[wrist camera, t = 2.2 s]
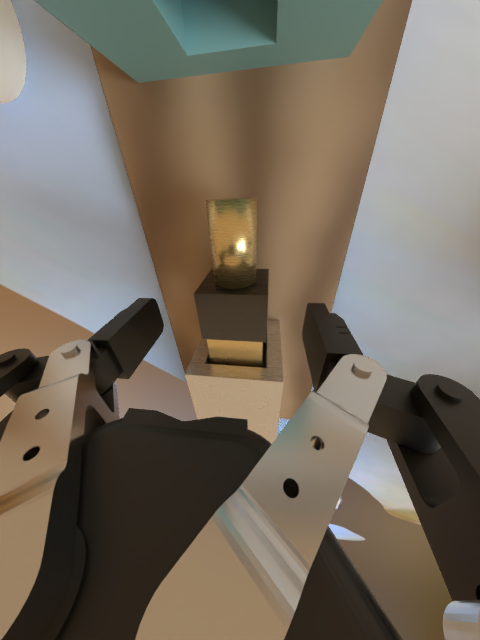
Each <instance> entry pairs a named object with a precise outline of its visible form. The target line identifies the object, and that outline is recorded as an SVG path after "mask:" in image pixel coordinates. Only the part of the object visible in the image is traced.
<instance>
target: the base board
mask: <svg viewBox="0 0 480 640" xmlns="http://www.w3.org/2000/svg"><path fill="white" fill-rule="evenodd" d="M411 3H412V0H383V2H382V3H381V5H380V7H379V8H378V10H377V12H376V13H375V15H374V16H373V18H372V20H371V21H370V23H369V25H368V26H367V28H366V30H365V31H364V33H363V35H362V36H361V38H360V40H359V41H358V43H357V45H356V46H355V48H354V50H353V51H352V53H351V55H350V56H349V57H342V58H334V59H326V60H318V61H310V62H302V63H294V64H286V65H278V66H270V67H262V68H254V69H246V70H238V71H230V72H222V73H214V74H206V75H198V76H190V77H182V78H174V79H166V80H158V81H150V82H142V83H138V82H137V81H135V80H134V79H133V78H132V77H130V76H129V75H128V74H126V73H125V72H124V71H123V70H121V69H120V68H119V67H118V66H116V65H115V64H114V63H113V62H111V61H110V60H109V59H108V58H106V57H105V56H104V55H103V54H101V53H100V52H99V51H97V50H96V49H95V48H94V47H92V46H91V45H90V46H91V49H92V53H93V56H94V59H95V63H96V66H97V70H98V73H99V77H100V80H101V84H102V87H103V91H104V94H105V98H106V101H107V105H108V108H109V111H110V115H111V118H112V122H113V125H114V129H115V132H116V136H117V139H118V143H119V146H120V150H121V153H122V156H123V160H124V163H125V167H126V170H127V174H128V177H129V181H130V184H131V188H132V191H133V195H134V198H135V202H136V205H137V208H138V212H139V215H140V219H141V222H142V226H143V229H144V233H145V236H146V240H147V243H148V247H149V250H150V253H151V257H152V260H153V264H154V267H155V271H156V274H157V278H158V281H159V285H160V288H161V292H162V295H163V298H164V302H165V305H166V309H167V312H168V316H169V319H170V323H171V326H172V330H173V333H174V337H175V340H176V344H177V347H178V350H179V354H180V357H181V361H182V364H183V368H184V371H185V373H186V370H187V368H188V366H189V364H190V362H191V360H192V357H193V355H194V353H195V351H196V349H197V346H198V344H199V342H200V340H201V338H202V335H201V330H200V325H199V320H198V314H197V309H196V304H195V298H194V292H195V291H196V290H197V288H198V287H199V286H200V284H201V283H202V281H203V280H204V279H205V277H206V276H207V274H208V273H209V272H210V270H211V269H213V262H212V253H211V245H210V236H209V228H208V219H207V211H206V202H205V200H210V199H222V198H246V197H254V198H257V248H256V269H269V284H268V313H267V319H272V320H279V321H280V336H281V350H282V364H283V379H284V384H283V392H282V399H281V407H280V414H279V418H285V419H291V418H292V417H293V415H294V414H295V413H296V411H297V410H298V409H299V407H300V406H301V405H302V403H303V402H304V401H305V399H306V398H307V397H308V395H309V394H310V392H311V388H312V384H313V383H312V379H311V374H310V370H309V365H308V361H307V357H306V352H305V348H304V343H303V338H302V330H303V324H304V318H305V313H306V307H307V304H308V303H325V305H326V307H327V309H328V311H329V313H331V311H332V307H333V303H334V299H335V295H336V291H337V288H338V284H339V280H340V276H341V272H342V268H343V265H344V261H345V257H346V253H347V249H348V245H349V241H350V238H351V234H352V230H353V226H354V222H355V218H356V214H357V211H358V207H359V203H360V199H361V195H362V191H363V188H364V184H365V180H366V176H367V172H368V168H369V164H370V161H371V157H372V153H373V149H374V145H375V141H376V137H377V134H378V130H379V126H380V122H381V118H382V114H383V111H384V107H385V103H386V99H387V95H388V91H389V87H390V84H391V80H392V76H393V72H394V68H395V64H396V60H397V57H398V53H399V49H400V45H401V41H402V37H403V34H404V30H405V26H406V22H407V18H408V14H409V10H410V7H411Z"/></svg>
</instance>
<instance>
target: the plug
mask: <svg viewBox="0 0 480 640" xmlns="http://www.w3.org/2000/svg"><path fill="white" fill-rule="evenodd" d="M205 202H206V211H207V219H208V228H209V236H210V245H211V253H212V262H213V269H211V270H210V272H209V273H208V274H207V276H206V277H205V279H204V280H203V281H202V283H201V284H200V286H199V287H198V288H197V290H196V291H195V292H194V298H195V304H196V309H197V314H198V320H199V325H200V330H201V335H202V339H207V344H208V350H209V356H210V361H211V364H217V365H231V366H245V367H260V368H262V358H263V342H266V334H267V313H268V284H269V269H256V248H257V198H254V197H246V198H222V199H210V200H205Z"/></svg>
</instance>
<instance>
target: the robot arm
mask: <svg viewBox="0 0 480 640" xmlns="http://www.w3.org/2000/svg"><path fill="white" fill-rule="evenodd" d="M163 327H164V324H163V320H162V317H161V314H160V310H159V307H158V304H157V302H156V300H155V299H153V298H139V299H137V300H136V301H135V302H134V303H133V304H132V305H130V306H129V307H128V308H127V309H125V310H123V311H121V312H120V313H119V314H117V315H116V316H115V317H114V319H112V320H110V321H109V322H108V324H106V325H105V326H103V327H102V328H101V329H100V330H99V331H98V332H96V333H95V334H94V335H93V336H92V337H91V338H89V339H88V340H76V341H72V342H69V343H67V344H64V345H62V346H60V347H59V348H57V349H56V350H55V351H54V352H52V353H51V354H50V356H45V357H38V358H36V357H35V356H34V355H33V353H32V352H31V351H30V350H29V349H16V350H13V351H9V352H6V353H4V354H1V355H0V397H1V396H2V395H3V394H6V395H7V396H8V397H9V398H11V399H12V400H13V401H14V402H15V403H16V405H15V407H14V410H13V411H12V412H11V413H10V414H8V415H7V416H6V417H5V418H4V419H3V420H2V421H1V422H0V640H403V639H402V638H401V636H400V635H399V633H398V632H397V630H396V629H395V627H394V626H393V624H392V622H391V621H390V619H389V618H388V616H387V615H386V613H385V612H384V610H383V609H382V607H381V606H380V604H379V603H378V601H377V600H376V598H375V597H374V595H373V593H372V592H371V590H370V589H369V588H368V586H367V584H366V583H365V581H364V580H363V578H362V577H361V575H360V574H359V572H358V571H357V569H356V568H355V566H354V564H353V563H352V561H351V560H350V558H349V557H348V555H347V554H346V552H345V551H344V550H343V548H342V546H341V545H340V543H339V542H338V540H337V539H336V537H335V535H334V534H333V532H332V531H331V529H330V528H329V526H328V525H329V522H330V520H331V517H332V515H333V513H334V510H335V508H336V506H337V503H338V501H339V498H340V496H341V493H342V491H343V488H344V486H345V484H346V481H347V479H348V477H349V474H350V472H351V469H352V467H353V465H354V462H355V460H356V457H357V455H358V453H359V450H360V448H361V445H362V443H363V440H364V438H365V436H366V433H367V432H370V433H372V434H375V435H377V436H380V437H382V438H385V439H387V442H388V444H389V446H390V449H391V451H392V454H393V456H394V459H395V461H396V464H397V466H398V469H399V471H400V473H401V476H402V478H403V481H404V483H405V486H406V488H407V491H408V493H409V495H410V498H411V500H412V503H413V505H414V508H415V510H416V513H417V515H418V517H419V520H420V522H421V525H422V527H423V530H424V532H425V534H426V537H427V539H428V542H429V544H430V547H431V549H432V551H433V554H434V557H435V559H436V561H437V564H438V566H439V569H440V571H441V573H442V576H443V578H444V581H445V583H446V586H447V588H448V591H449V593H450V596H451V598H452V601H453V602H451V603H449V605H448V606H447V607H446V609H445V612H444V616H443V630H444V637H445V640H480V400H479V399H478V397H477V396H476V395H475V394H474V393H472V392H471V391H470V390H469V389H467V388H466V387H464V386H463V385H461V384H459V383H458V382H456V381H454V380H451V379H449V378H446V377H443V376H439V375H432V374H428V375H423V376H421V377H420V378H419V379H418V381H417V382H416V383H414V382H410V381H407V380H403V379H400V378H396V377H393V376H390V375H387V374H386V372H385V370H384V369H383V367H382V366H381V365H380V364H378V363H377V362H376V361H374V360H372V359H370V358H368V357H366V356H364V355H363V354H362V352H361V350H360V348H359V347H358V345H357V343H356V341H355V339H354V338H353V336H352V334H351V332H350V331H349V329H348V328H347V325H346V323H345V322H344V320H343V319H342V318H341V317H339V316H338V315H337V314H335V313H329V311H328V309H327V307H326V305H325V303H308V304H307V307H306V313H305V318H304V324H303V330H302V338H303V343H304V348H305V352H306V357H307V361H308V365H309V370H310V374H311V379H312V383H313V387H314V391H312V392H311V393H310V394H309V395H308V397H307V398H306V399H305V401H304V402H303V403H302V405H301V406H300V407H299V409H298V410H297V411H296V413H295V414H294V415H293V417H292V418H291V419H290V421H289V422H288V423H287V425H286V426H285V427H284V429H283V430H282V431H281V433H280V434H279V435H278V437H277V438H276V439H275V441H274V442H273V443H272V444H271V443H270V442H269V441H268V440H266V439H265V438H264V437H262V436H261V435H259V434H257V433H256V432H254V431H251V430H249V429H248V419H238V418H228V417H211V418H204V419H198V420H192V421H180V420H178V419H175V418H173V417H171V416H168V415H165V414H163V413H161V412H159V411H154V410H144V409H133V408H129V410H128V411H127V413H126V414H125V416H124V417H123V418H122V419H119V408H118V395H117V385H116V384H115V380H116V379H117V378H123V379H129V378H130V377H131V375H132V374H133V372H134V371H135V370H136V368H137V367H138V365H139V364H140V363H141V361H142V360H143V359H144V357H145V356H146V354H147V353H148V352H149V350H150V349H151V347H152V346H153V345H154V343H155V342H156V340H157V339H158V338H159V336H160V335H161V333H162V332H163Z"/></svg>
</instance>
